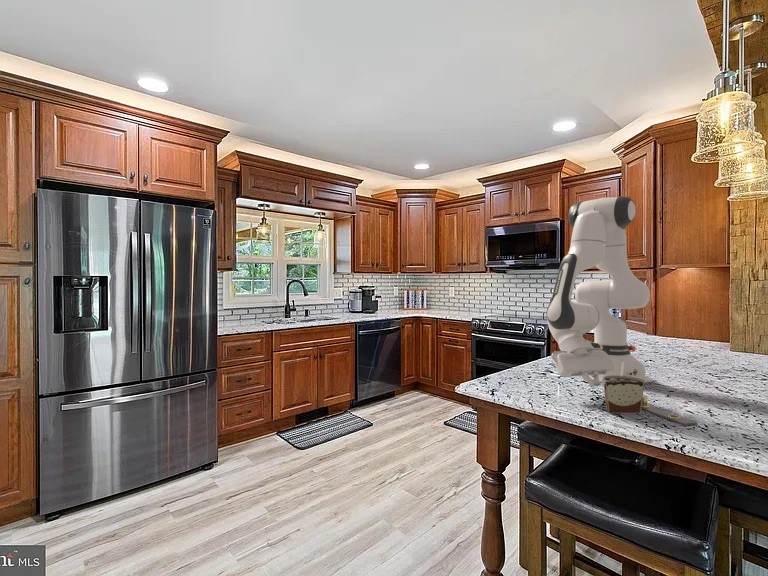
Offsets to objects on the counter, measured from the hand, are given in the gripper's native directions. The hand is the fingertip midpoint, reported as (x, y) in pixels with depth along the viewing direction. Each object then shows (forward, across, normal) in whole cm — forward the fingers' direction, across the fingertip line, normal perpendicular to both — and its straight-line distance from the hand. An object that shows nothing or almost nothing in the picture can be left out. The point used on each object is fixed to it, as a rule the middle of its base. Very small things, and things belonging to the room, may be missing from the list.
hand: (596, 385), depth 131 cm
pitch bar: (+14, +9, -6) cm, 18 cm away
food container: (+10, 0, -3) cm, 11 cm away
